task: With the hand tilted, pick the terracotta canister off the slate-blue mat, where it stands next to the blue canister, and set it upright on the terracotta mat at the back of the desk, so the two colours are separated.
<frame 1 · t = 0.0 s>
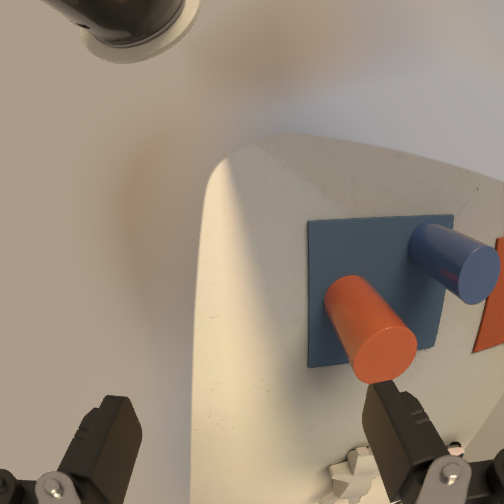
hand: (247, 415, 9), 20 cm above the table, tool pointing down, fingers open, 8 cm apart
toy car: (430, 458, 41), on the table
blue mat: (383, 293, 30), on the table
terracotta canister: (348, 299, 30), resting on blue mat
blue canister: (427, 244, 28), resting on blue mat
bunny figurine: (349, 467, 40), on the table
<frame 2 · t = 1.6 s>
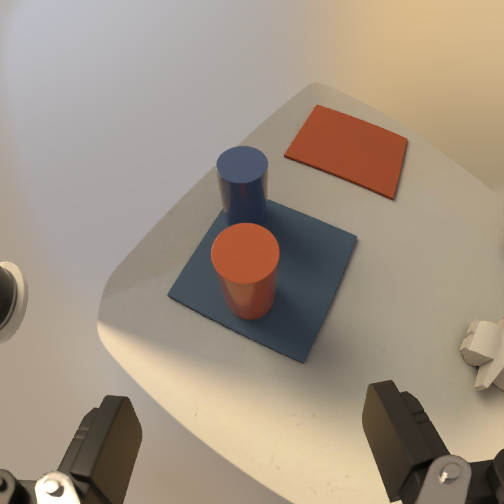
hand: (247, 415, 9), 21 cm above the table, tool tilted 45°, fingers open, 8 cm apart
terracotta mat: (351, 146, 43), on the table
blue mat: (266, 266, 35), on the table
terracotta canister: (249, 295, 33), resting on blue mat
blue canister: (245, 215, 37), resting on blue mat
bunny figurine: (496, 367, 27), on the table
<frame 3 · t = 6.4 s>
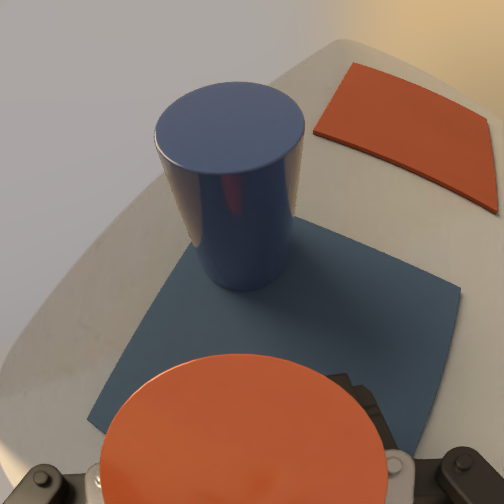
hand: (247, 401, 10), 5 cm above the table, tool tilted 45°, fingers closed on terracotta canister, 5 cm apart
terracotta mat: (418, 122, 23), on the table
blue mat: (291, 367, 15), on the table
terracotta canister: (255, 438, 13), resting on blue mat, touching gripper
blue canister: (243, 249, 18), resting on blue mat
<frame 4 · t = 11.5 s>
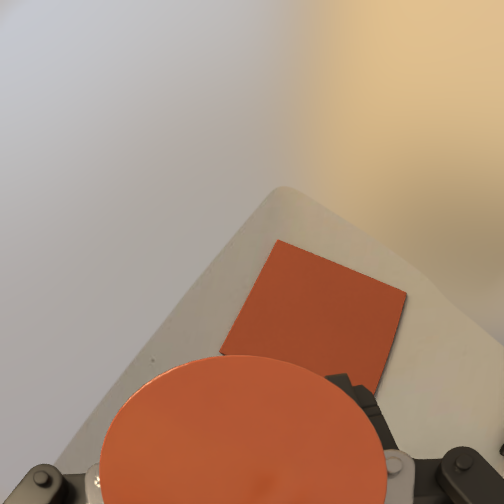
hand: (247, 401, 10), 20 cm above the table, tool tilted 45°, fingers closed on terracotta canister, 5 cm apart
terracotta mat: (320, 323, 31), on the table
terracotta canister: (255, 438, 13), point 16 cm above the table, touching gripper
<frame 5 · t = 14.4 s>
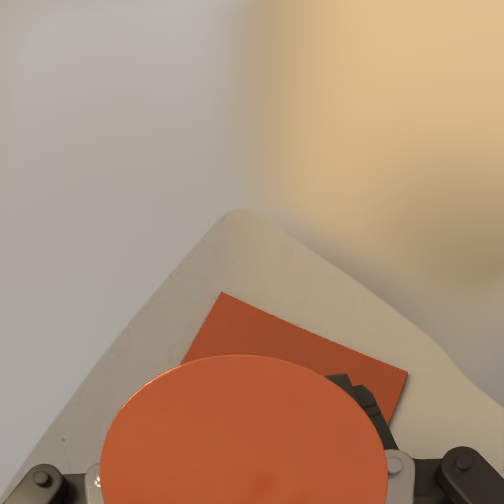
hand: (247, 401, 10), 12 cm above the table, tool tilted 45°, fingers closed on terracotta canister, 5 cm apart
terracotta mat: (275, 419, 20), on the table
terracotta canister: (255, 438, 13), point 8 cm above the table, touching gripper
when the fingers open (5 cm above the table, at t = 16.6 s): terracotta canister stays where it is, resting on terracotta mat.
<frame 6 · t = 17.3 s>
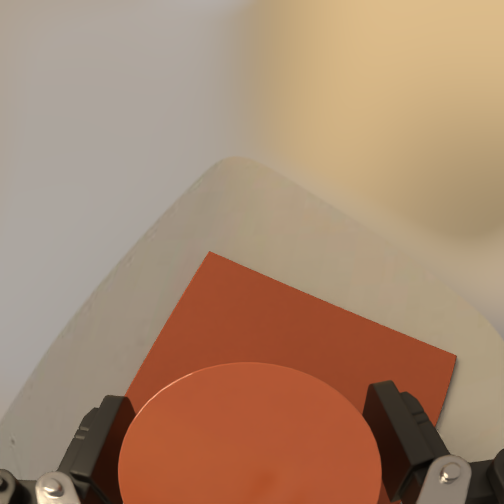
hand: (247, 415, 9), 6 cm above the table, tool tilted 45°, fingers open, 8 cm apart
terracotta mat: (283, 426, 14), on the table
terracotta canister: (258, 438, 13), resting on terracotta mat
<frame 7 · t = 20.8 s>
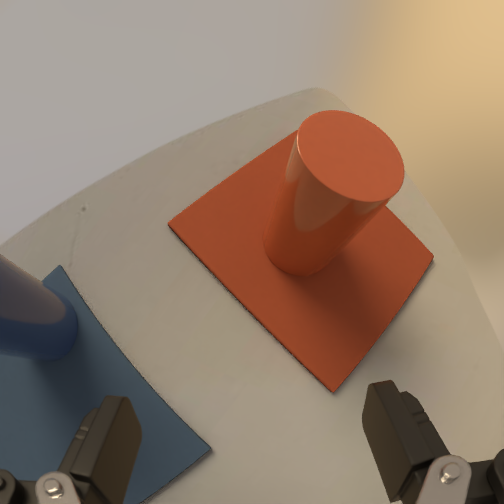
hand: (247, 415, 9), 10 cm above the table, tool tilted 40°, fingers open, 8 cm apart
terracotta mat: (315, 242, 23), on the table
blue mat: (49, 422, 15), on the table
terracotta canister: (299, 240, 22), resting on terracotta mat
blue canister: (47, 325, 18), resting on blue mat
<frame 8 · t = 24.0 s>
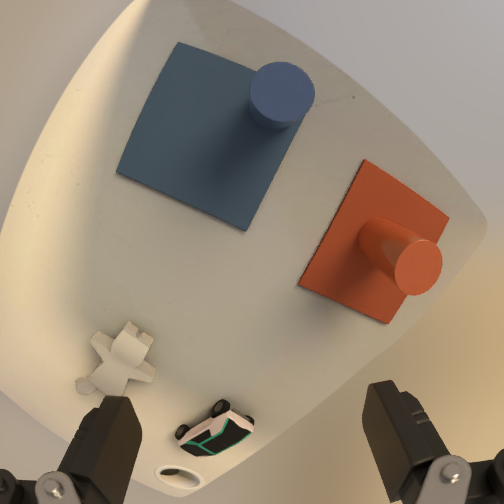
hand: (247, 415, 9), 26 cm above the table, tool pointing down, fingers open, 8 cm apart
toy car: (214, 421, 43), on the table
terracotta mat: (379, 248, 35), on the table
blue mat: (211, 131, 31), on the table
terracotta canister: (378, 239, 34), resting on terracotta mat
blue canister: (272, 108, 30), resting on blue mat
bunny figurine: (120, 359, 39), on the table
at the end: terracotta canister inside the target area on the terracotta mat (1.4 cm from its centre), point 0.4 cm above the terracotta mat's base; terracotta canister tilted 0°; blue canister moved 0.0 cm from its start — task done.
